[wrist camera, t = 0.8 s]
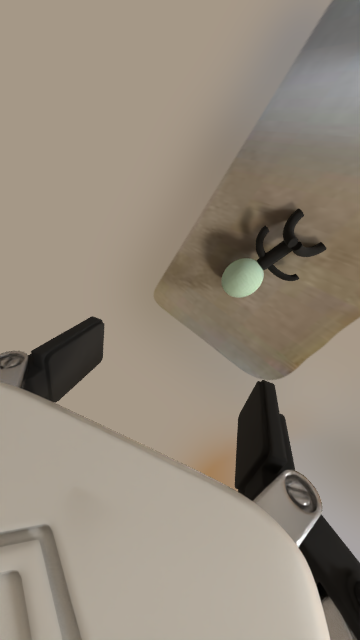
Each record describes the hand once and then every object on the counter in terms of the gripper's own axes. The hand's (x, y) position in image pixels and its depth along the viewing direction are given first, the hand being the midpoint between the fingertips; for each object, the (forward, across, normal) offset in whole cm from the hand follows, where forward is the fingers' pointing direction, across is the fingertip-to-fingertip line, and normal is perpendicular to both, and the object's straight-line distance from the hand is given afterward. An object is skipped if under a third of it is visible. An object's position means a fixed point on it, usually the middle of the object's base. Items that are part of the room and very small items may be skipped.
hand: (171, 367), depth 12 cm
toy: (+29, -6, -4) cm, 29 cm away
